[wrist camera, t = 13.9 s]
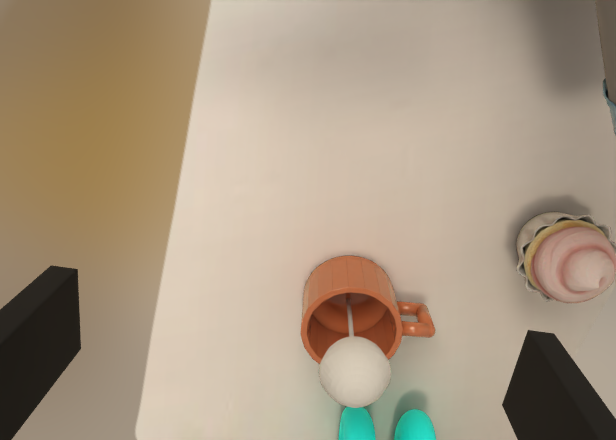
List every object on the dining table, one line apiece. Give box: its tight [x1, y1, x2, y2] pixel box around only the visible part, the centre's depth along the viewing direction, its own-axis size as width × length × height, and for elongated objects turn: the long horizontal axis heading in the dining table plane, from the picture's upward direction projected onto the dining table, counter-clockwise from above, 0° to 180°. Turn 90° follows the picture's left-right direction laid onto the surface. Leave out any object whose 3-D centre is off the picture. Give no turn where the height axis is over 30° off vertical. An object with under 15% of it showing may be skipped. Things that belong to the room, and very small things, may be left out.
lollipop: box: [319, 298, 391, 408], centre depth 48 cm, size 6×6×15 cm
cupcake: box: [516, 212, 616, 303], centre depth 48 cm, size 9×9×10 cm
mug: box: [301, 256, 435, 364], centre depth 52 cm, size 13×10×7 cm
